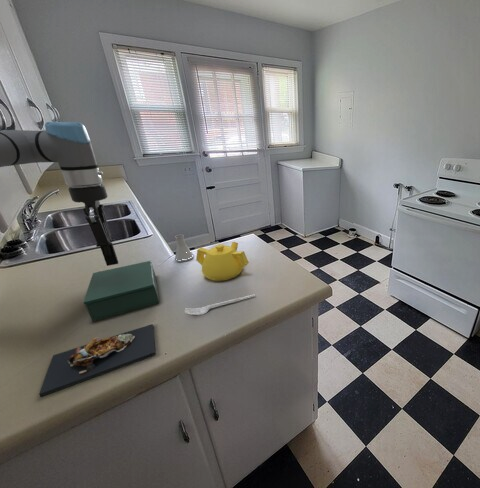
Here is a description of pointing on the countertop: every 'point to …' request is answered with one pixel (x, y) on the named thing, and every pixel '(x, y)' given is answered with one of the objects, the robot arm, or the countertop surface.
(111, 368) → the trivet mat
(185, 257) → the flask
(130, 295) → the box
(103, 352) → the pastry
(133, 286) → the box lid
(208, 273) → the teapot
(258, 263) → the countertop surface
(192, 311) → the white spoon
